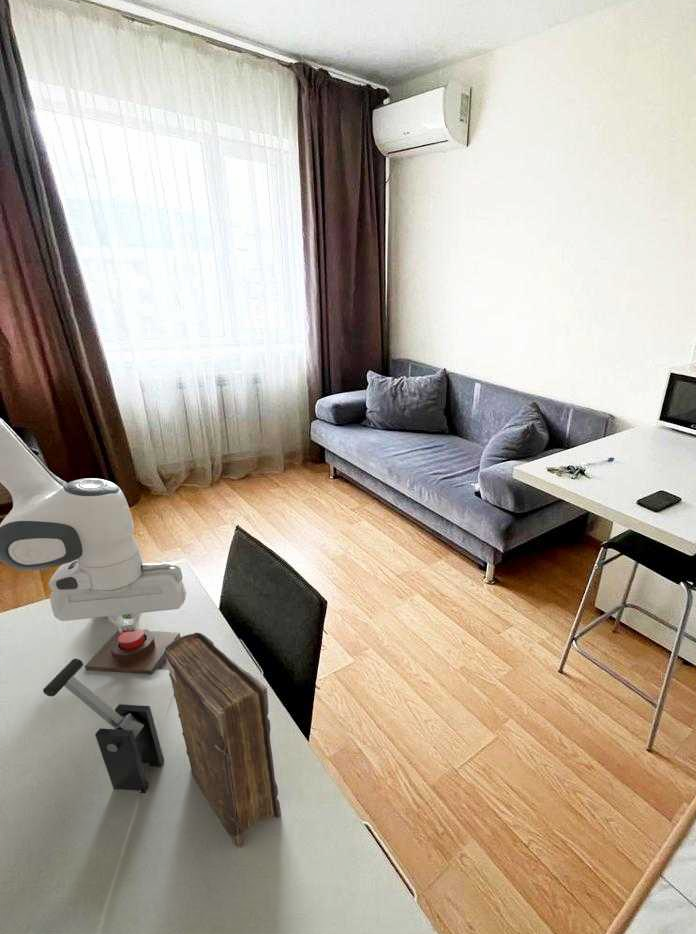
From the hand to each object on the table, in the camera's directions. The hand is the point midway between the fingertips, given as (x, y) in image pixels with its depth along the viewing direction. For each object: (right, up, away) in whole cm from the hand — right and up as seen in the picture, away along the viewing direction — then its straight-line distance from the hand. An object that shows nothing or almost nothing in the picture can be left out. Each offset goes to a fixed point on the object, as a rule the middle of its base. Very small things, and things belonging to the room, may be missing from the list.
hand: (130, 629), depth 91 cm
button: (0, -3, +1) cm, 3 cm away
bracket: (+14, -17, -19) cm, 29 cm away
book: (+28, -18, -20) cm, 39 cm away
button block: (-1, -6, +3) cm, 7 cm away
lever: (+11, -3, -25) cm, 27 cm away
